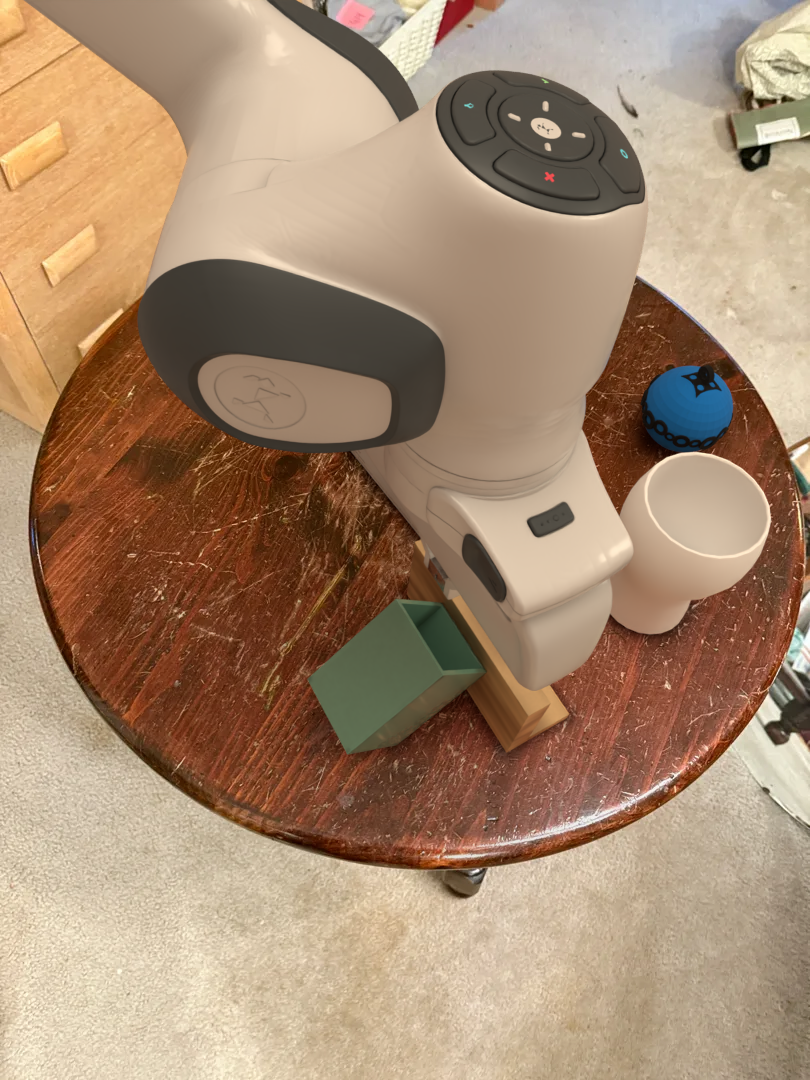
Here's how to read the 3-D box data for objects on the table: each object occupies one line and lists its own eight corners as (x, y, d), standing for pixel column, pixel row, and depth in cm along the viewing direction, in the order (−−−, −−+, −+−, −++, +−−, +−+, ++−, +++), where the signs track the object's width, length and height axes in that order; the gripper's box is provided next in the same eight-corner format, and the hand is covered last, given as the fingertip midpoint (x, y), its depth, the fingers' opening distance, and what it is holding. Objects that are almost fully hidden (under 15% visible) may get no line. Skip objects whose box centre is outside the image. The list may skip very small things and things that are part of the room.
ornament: (729, 458, 82) (775, 391, 73) (655, 480, 80) (693, 414, 71) (686, 395, 86) (724, 325, 77) (614, 414, 84) (645, 344, 75)
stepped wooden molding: (506, 753, 65) (528, 716, 57) (406, 594, 72) (414, 542, 64) (567, 718, 67) (596, 677, 59) (464, 566, 73) (478, 512, 66)
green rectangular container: (345, 773, 63) (351, 722, 53) (307, 700, 66) (306, 639, 56) (471, 705, 67) (499, 646, 57) (430, 640, 70) (450, 573, 60)
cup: (631, 524, 77) (690, 423, 64) (724, 598, 73) (806, 507, 61) (560, 592, 73) (607, 498, 60) (655, 674, 69) (727, 593, 56)
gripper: (319, 320, 42) (325, 474, 54) (541, 641, 34) (491, 741, 46) (424, 283, 44) (408, 440, 56) (659, 578, 36) (582, 690, 47)
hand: (446, 577), depth 51 cm, fingers closed
